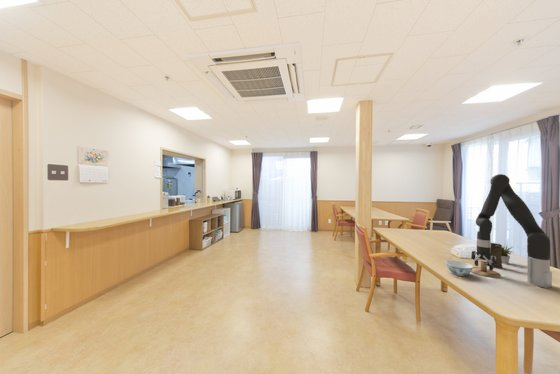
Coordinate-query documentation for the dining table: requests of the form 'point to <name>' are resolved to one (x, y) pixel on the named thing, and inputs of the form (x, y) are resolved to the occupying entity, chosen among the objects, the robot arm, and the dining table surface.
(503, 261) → the house plant
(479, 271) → the lid
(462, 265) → the chinaware
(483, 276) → the mat
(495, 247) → the container
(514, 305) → the dining table surface
